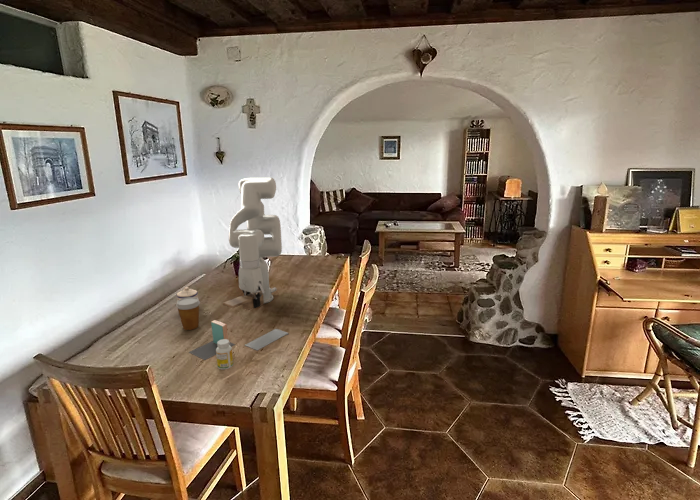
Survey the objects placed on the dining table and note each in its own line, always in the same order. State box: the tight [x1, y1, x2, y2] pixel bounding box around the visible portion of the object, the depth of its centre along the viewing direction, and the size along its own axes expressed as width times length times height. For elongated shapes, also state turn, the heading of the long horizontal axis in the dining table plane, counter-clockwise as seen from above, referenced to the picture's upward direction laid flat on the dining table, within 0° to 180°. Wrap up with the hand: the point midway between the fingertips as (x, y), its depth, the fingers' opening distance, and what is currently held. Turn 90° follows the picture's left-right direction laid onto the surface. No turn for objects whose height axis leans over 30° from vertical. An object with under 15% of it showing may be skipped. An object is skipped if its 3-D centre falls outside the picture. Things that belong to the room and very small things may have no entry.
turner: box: [222, 293, 265, 311], centre depth 167 cm, size 16×6×5 cm, turn 145°
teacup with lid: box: [176, 286, 199, 301], centre depth 192 cm, size 12×9×12 cm
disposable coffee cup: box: [175, 297, 201, 331], centre depth 175 cm, size 10×10×12 cm
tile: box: [210, 319, 229, 344], centre depth 159 cm, size 2×7×9 cm, turn 55°
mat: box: [188, 340, 236, 361], centre depth 157 cm, size 14×10×1 cm
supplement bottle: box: [215, 339, 234, 370], centre depth 144 cm, size 5×5×10 cm
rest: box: [244, 328, 289, 351], centre depth 164 cm, size 17×7×1 cm, turn 145°
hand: (253, 305), depth 171 cm, fingers closed on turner, 4 cm apart
